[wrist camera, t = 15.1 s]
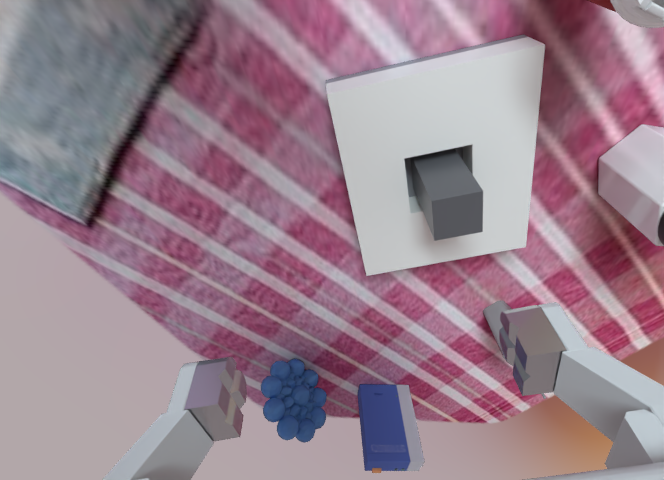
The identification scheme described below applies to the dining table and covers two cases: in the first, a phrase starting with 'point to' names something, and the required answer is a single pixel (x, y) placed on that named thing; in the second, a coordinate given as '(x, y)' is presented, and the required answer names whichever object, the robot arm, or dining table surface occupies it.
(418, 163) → the gray rectangular block
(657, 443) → the robot arm
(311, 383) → the grapes
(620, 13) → the paper cup
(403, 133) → the outlet block
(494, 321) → the power adapter
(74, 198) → the dining table surface
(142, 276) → the dining table surface
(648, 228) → the jar
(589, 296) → the dining table surface
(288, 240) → the dining table surface
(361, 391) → the walkman
